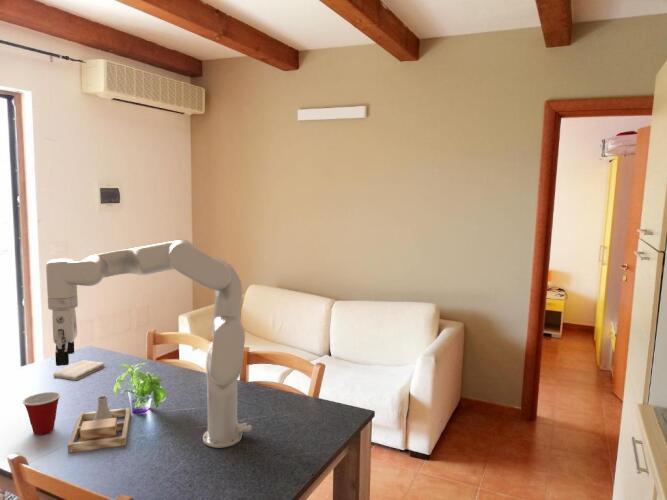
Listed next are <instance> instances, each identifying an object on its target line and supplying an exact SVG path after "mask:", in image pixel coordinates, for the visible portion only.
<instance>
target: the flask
mask: <svg viewBox="0 0 667 500" xmlns="http://www.w3.org/2000/svg"><path fill="white" fill-rule="evenodd" d="M108 399H109V397H108V396H107V395H100V396H98V397H97V398H96V400H97V409H96V414H95V417H94V419H93V420H100V419H108V418H113V417H112V415H111V413H110V411H109V410H110V409H109V404H108Z"/></svg>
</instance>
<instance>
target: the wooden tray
mask: <svg viewBox="0 0 667 500" xmlns="http://www.w3.org/2000/svg"><path fill="white" fill-rule="evenodd" d="M96 411H97V410H96ZM96 411H95V410H94V411H87V412H80V413H79V414H78V416H77V418H76V421H75V425H74V427H73V429H72V432H71V434H70V438H69V441H68V443H67V453H75V452H77V453H78V452H83V451H84V452H85V451H90V450H97V449H98V450H99V449H105V448H106V449H107V448H116V447H121V446H127V445H126V444H127V439H128V438H127V437H128V433H129V432H128V431H129V425H130V419H131V407H125V408H124V407H122V408H114V409H109V411H110V413H111V415H112V417H113V418H116V417H117V418H123V417H124V420H123V421H117V432H118V431H122V432H121V436H117V437H113V438H105V439H97V440H89V441H81V440H80V441H77V439H78V438H79V436H81V434H80V430H81V426H82V423H83V422H84V421H92V420H93V419H94V417H95V414H96Z"/></svg>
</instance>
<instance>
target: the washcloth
mask: <svg viewBox="0 0 667 500" xmlns="http://www.w3.org/2000/svg"><path fill="white" fill-rule="evenodd" d="M105 367H106V366H105V363H104V362H102V361H99V362H98V361H93V360H90V359H89V360H87V359H82V360H80V361H78V362H73V363H71V364H68V365H65V367H63V368H60V369H58V370H56V371H55V372H54V373H53V374H52V375H53V377H54V378H57V379H65V380H70V381H78V380H81V379H83V378H85V377H86V376H89V375H92V374H93V373H95V372H97V371H99V370H101V369H103V368H105Z"/></svg>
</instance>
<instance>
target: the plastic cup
mask: <svg viewBox="0 0 667 500" xmlns="http://www.w3.org/2000/svg"><path fill="white" fill-rule="evenodd" d="M60 398H61V393H59V392H57V391H47V392H41V393H37V394H33V395H29V396H28V397H26V398H24V399H23V400H22V404H23V405H24V406H25V409H26V411H27V415H28V420H29V423H30V426H31V429H32V432H33V435H35V436H45V435H47V434H48V435H49V434H50V433H52V432H53V431H54V429H55V422H56V416H57V411H58V404H59V399H60Z"/></svg>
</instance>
